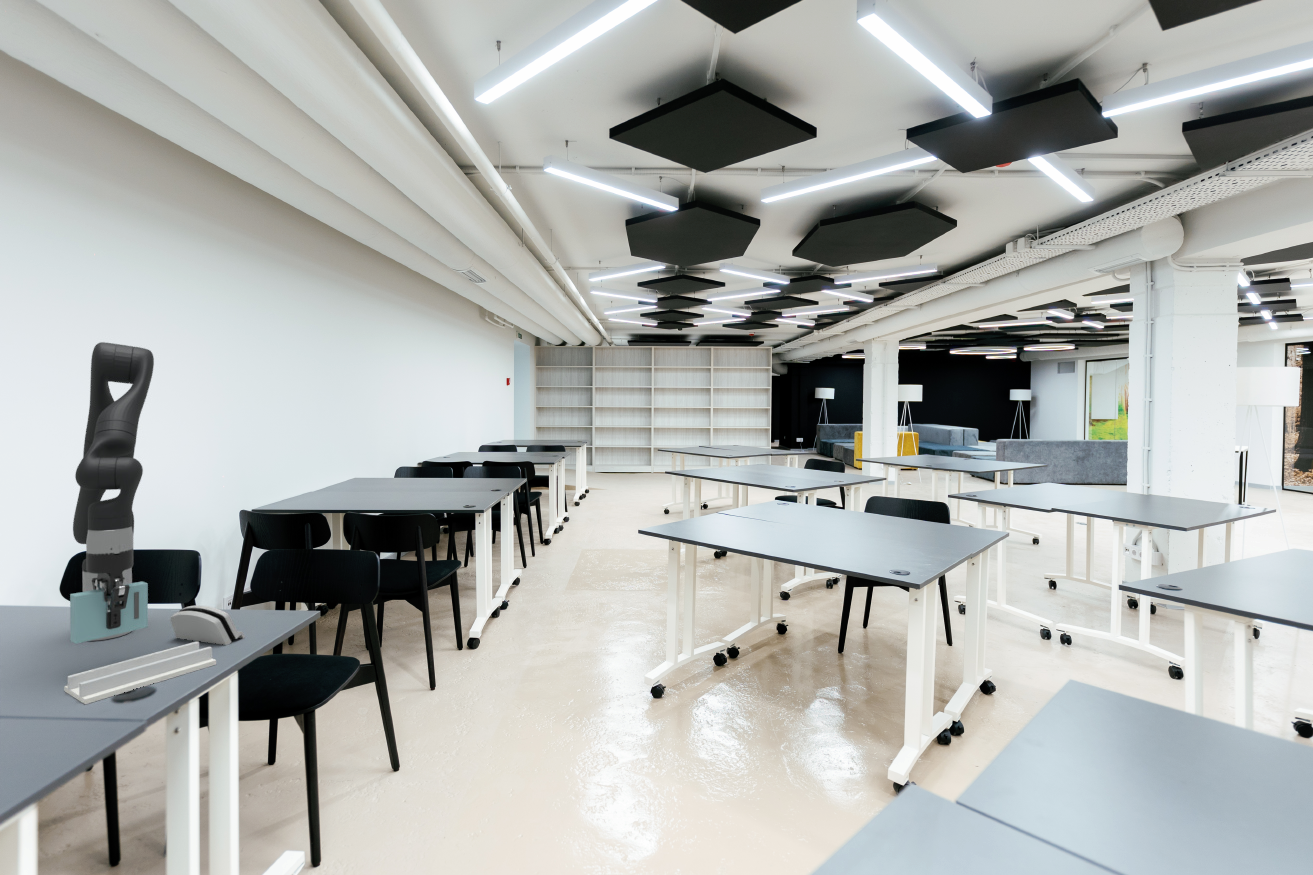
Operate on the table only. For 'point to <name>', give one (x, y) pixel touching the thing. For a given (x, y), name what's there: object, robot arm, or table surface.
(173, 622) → the grey arched block
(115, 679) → the door track
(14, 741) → the table surface
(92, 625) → the door panel
